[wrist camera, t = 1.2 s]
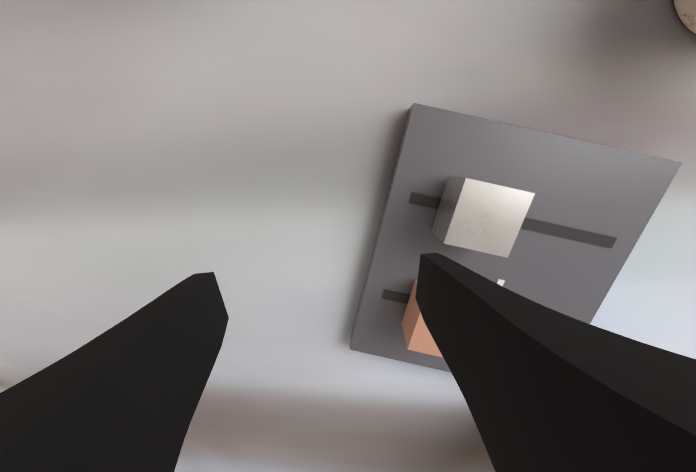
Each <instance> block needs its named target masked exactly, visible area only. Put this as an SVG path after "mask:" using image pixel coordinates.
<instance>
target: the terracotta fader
mask: <svg viewBox="0 0 696 472" xmlns="http://www.w3.org/2000/svg"><path fill="white" fill-rule="evenodd" d="M416 287H417V280H415V283H414V286H413V289H412V292H411V295H410V298H409V301H408V304H407V308H406V311H405V314H404V317H403V320H402V323H401V324H402V328H403V332H404V337H405V341H406V345H407V349H408V350H412V351H416V352H421V353H425V354H430V355H434V356H439V357H443V356H442V354H441V352H440V351H439V349H438V347H437V345H436V343H435V341H434V339H433V338H432V336H431V334H430V332H429V330H428V328H427V326H426V324H425V322H424V320H423V317H422V315H421V312H420V310H419V307H418V304H417V302H416V299H415V296H416Z"/></svg>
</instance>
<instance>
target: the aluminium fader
mask: <svg viewBox="0 0 696 472" xmlns="http://www.w3.org/2000/svg"><path fill="white" fill-rule="evenodd" d="M534 195H535V193H532V192H527V191H523V190H518V189H514V188H509V187H505V186H500V185H496V184H491V183H487V182H482V181H478V180H473V179H469V178H463V177H454V176H449V177H448V180H447V183H446V186H445V189H444V192H443V195H442V198H441V202H440V205H439V208H438V211H437V214H436V217H435V220H434V223H433V227H432V230H431V232H432V233H433V234H434V235H435V236H436V237H438V238H439V239H440V240H441V241H442V242H443V243H444V244H448V245H453V246H457V247H462V248H466V249H471V250H475V251H479V252H484V253H488V254H493V255H497V256H502V257H506V258H508V256H509V254H510V251H511V249H512V247H513V244H514V242H515V240H516V237H517V235H518V232H519V230H520V228H521V225H522V223H523V221H524V218H525V216H526V214H527V211H528V209H529V207H530V204H531V202H532V200H533V197H534Z"/></svg>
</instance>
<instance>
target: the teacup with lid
mask: <svg viewBox="0 0 696 472" xmlns="http://www.w3.org/2000/svg"><path fill="white" fill-rule="evenodd" d="M674 5H675V8H676V11H677V13H678V16H679V17H680V19H681V21H682V22H683V23H684V24H685V26H686V27H687V28H688V29H689V30H691V31H692V32H694V33H695V34H696V0H674Z"/></svg>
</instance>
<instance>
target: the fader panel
mask: <svg viewBox="0 0 696 472" xmlns="http://www.w3.org/2000/svg"><path fill="white" fill-rule="evenodd" d="M681 164H682V162H677V161H673V160H668V159H664V158H659V157H655V156H650V155H646V154H641V153H637V152H632V151H628V150H623V149H619V148H614V147H610V146H605V145H601V144H596V143H592V142H587V141H583V140H578V139H574V138H569V137H565V136H560V135H556V134H551V133H547V132H542V131H538V130H533V129H529V128H524V127H520V126H515V125H511V124H506V123H502V122H497V121H493V120H488V119H484V118H479V117H475V116H470V115H465V114H461V113H456V112H452V111H447V110H443V109H438V108H434V107H429V106H425V105H420V104H416V103H414V104H413V105H412V106H411V107H410V110H409V114H408V117H407V121H406V125H405V129H404V133H403V137H402V141H401V145H400V148H399V152H398V156H397V160H396V164H395V168H394V172H393V176H392V179H391V183H390V187H389V191H388V195H387V199H386V203H385V207H384V210H383V214H382V218H381V222H380V226H379V230H378V234H377V238H376V241H375V245H374V249H373V253H372V257H371V261H370V265H369V269H368V273H367V276H366V280H365V284H364V288H363V292H362V296H361V300H360V304H359V307H358V311H357V315H356V319H355V323H354V327H353V331H352V335H351V340H350V349H351V350H356V351H360V352H364V353H369V354H373V355H378V356H382V357H386V358H391V359H395V360H400V361H404V362H408V363H413V364H417V365H422V366H426V367H430V368H435V369H439V370H444V371H448V372H451V371H450V369H449V367H448V365H447V363H446V362H445V360H444V358H443V357H439V356H434V355H430V354H425V353H421V352H416V351H412V350H408V349H407V345H406V341H405V337H404V332H403V328H402V324H401V323H402V320H403V317H404V314H405V311H406V308H407V304H408V301H409V298H410V295H411V292H412V289H413V286H414V283H415V280H417V279H418V271H419V263H420V255H421V254H425V253H439V254H441V255H444V256H446V257H448V258H450V259H451V260H453V261H455V262H457V263H459V264H461V265H463V266H465V267H466V268H468V269H470V270H472V271H474V272H476V273H478V274H480V275H481V276H483V277H485V278H487V279H489V280H491V281H493V282H495V283H497V284H499V285H501V286H503V287H505V288H507V289H509V290H511V291H513V292H515V293H517V294H519V295H521V296H523V297H526V298H528V299H530V300H532V301H534V302H536V303H539V304H541V305H543V306H545V307H548V308H550V309H553V310H555V311H558V312H560V313H562V314H565V315H567V316H570V317H572V318H575V319H577V320H580V321H582V322H585V323H588V324H590V323H591V321H592V319H593V317H594V316H595V314H596V312H597V310H598V309H599V307H600V305H601V303H602V302H603V300H604V298H605V296H606V295H607V293H608V291H609V289H610V288H611V286H612V284H613V282H614V281H615V279H616V277H617V276H618V274H619V272H620V270H621V269H622V267H623V265H624V263H625V262H626V260H627V258H628V256H629V255H630V253H631V251H632V249H633V248H634V246H635V244H636V242H637V241H638V239H639V237H640V235H641V234H642V232H643V230H644V228H645V227H646V225H647V223H648V221H649V220H650V218H651V216H652V214H653V213H654V211H655V209H656V208H657V206H658V204H659V202H660V201H661V199H662V197H663V195H664V194H665V192H666V190H667V188H668V187H669V185H670V183H671V181H672V180H673V178H674V176H675V174H676V173H677V171H678V169H679V167H680V166H681ZM449 176H454V177H463V178H469V179H473V180H478V181H482V182H487V183H491V184H496V185H500V186H505V187H509V188H514V189H518V190H523V191H527V192H532V193H535V195H534V197H533V200H532V202H531V204H530V207H529V209H528V211H527V214H526V216H525V218H524V221H523V223H522V225H521V228H520V230H519V232H518V235H517V237H516V240H515V242H514V244H513V247H512V249H511V251H510V254H509V256H508V258H506V257H502V256H497V255H493V254H488V253H484V252H479V251H475V250H471V249H466V248H462V247H457V246H453V245H448V244H444V243H443V242H442V241H441V240H440V239H439V238H438V237H436V236H435V235H434V234H433V233H432V232H431V230H432V227H433V223H434V220H435V217H436V214H437V211H438V208H439V205H440V202H441V198H442V195H443V192H444V189H445V186H446V183H447V180H448V177H449Z"/></svg>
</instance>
